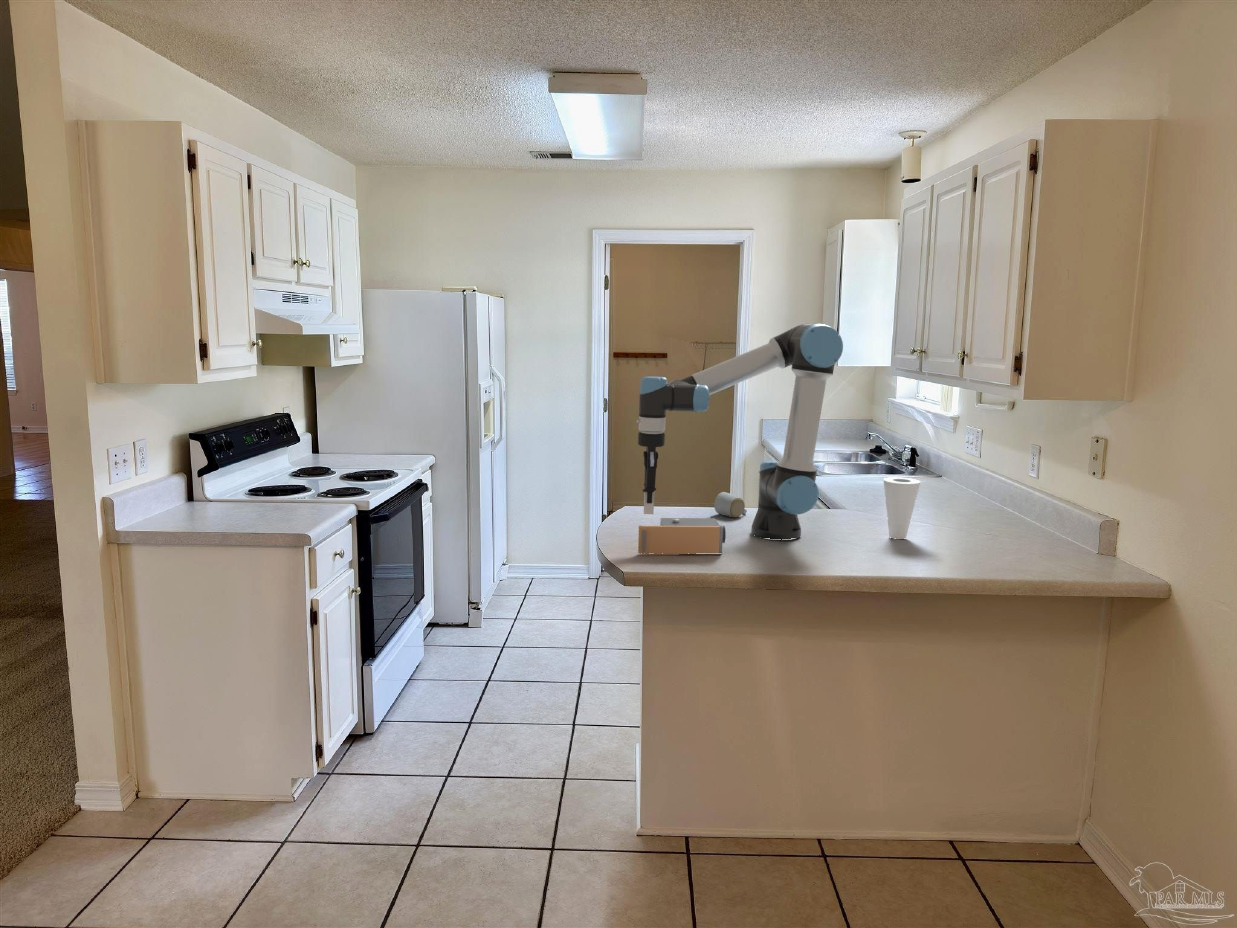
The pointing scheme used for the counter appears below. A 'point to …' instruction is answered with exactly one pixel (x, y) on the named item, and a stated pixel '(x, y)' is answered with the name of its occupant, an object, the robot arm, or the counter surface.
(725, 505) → the ceramic mug
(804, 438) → the robot arm
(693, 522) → the camera housing
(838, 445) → the counter surface
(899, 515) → the cup
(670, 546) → the door
